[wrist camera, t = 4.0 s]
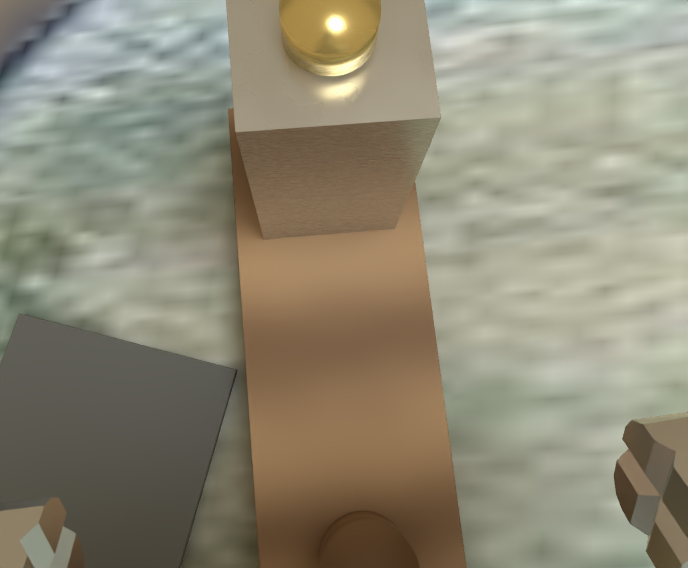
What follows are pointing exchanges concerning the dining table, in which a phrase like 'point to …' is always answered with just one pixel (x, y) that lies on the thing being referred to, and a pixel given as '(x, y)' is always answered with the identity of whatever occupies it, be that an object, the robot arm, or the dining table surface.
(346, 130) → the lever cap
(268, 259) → the body
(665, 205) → the dining table surface
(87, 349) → the mat
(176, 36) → the dining table surface
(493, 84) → the dining table surface
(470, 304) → the dining table surface
